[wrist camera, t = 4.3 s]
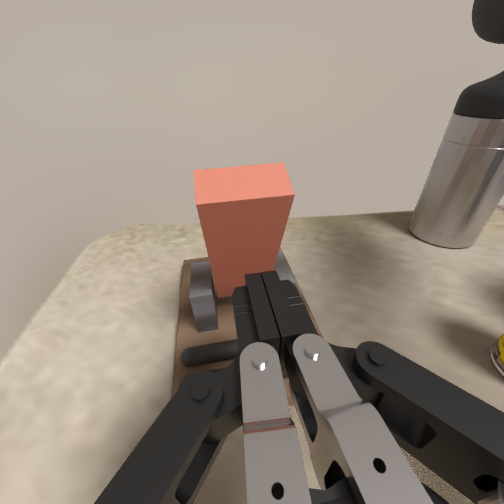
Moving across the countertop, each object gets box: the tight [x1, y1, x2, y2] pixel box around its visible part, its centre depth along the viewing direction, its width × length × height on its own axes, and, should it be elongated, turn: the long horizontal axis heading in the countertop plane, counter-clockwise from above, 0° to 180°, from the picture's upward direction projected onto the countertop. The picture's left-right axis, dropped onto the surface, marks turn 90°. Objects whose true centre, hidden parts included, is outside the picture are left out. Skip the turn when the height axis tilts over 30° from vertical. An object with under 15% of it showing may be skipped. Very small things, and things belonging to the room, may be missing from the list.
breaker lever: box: [194, 163, 294, 298], centre depth 19 cm, size 2×5×15 cm, turn 100°
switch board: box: [172, 248, 324, 405], centre depth 26 cm, size 20×14×6 cm
